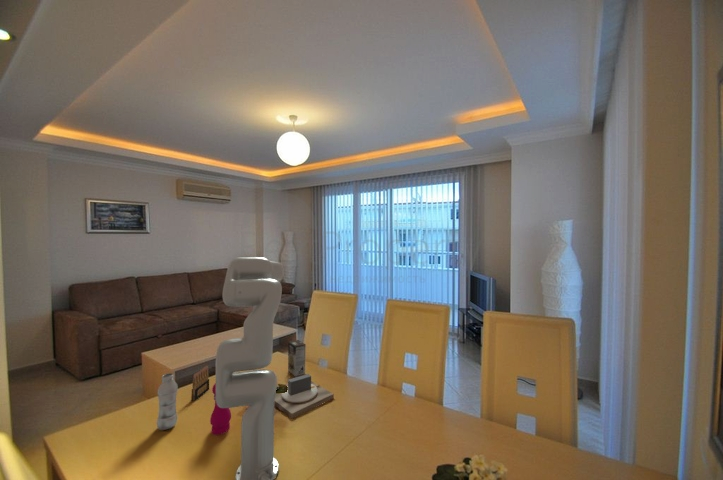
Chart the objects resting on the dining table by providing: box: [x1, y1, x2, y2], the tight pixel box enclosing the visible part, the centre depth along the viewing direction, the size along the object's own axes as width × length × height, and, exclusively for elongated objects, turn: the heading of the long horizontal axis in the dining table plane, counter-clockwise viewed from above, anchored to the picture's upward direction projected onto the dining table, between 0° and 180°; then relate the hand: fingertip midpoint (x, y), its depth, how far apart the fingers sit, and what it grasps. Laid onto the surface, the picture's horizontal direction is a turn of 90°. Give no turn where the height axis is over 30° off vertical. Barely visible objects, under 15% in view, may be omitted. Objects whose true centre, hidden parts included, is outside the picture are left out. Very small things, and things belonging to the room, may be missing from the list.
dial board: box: [274, 380, 334, 419], centre depth 135 cm, size 22×22×2 cm
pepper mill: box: [209, 382, 232, 436], centre depth 113 cm, size 7×7×20 cm
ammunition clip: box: [190, 365, 210, 402], centre depth 138 cm, size 11×2×12 cm, turn 175°
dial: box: [282, 373, 317, 403], centre depth 135 cm, size 16×16×7 cm
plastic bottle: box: [156, 372, 179, 431], centre depth 114 cm, size 6×7×20 cm
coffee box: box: [287, 339, 307, 377], centre depth 162 cm, size 9×6×16 cm
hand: (263, 327), depth 135 cm, fingers open, 9 cm apart
